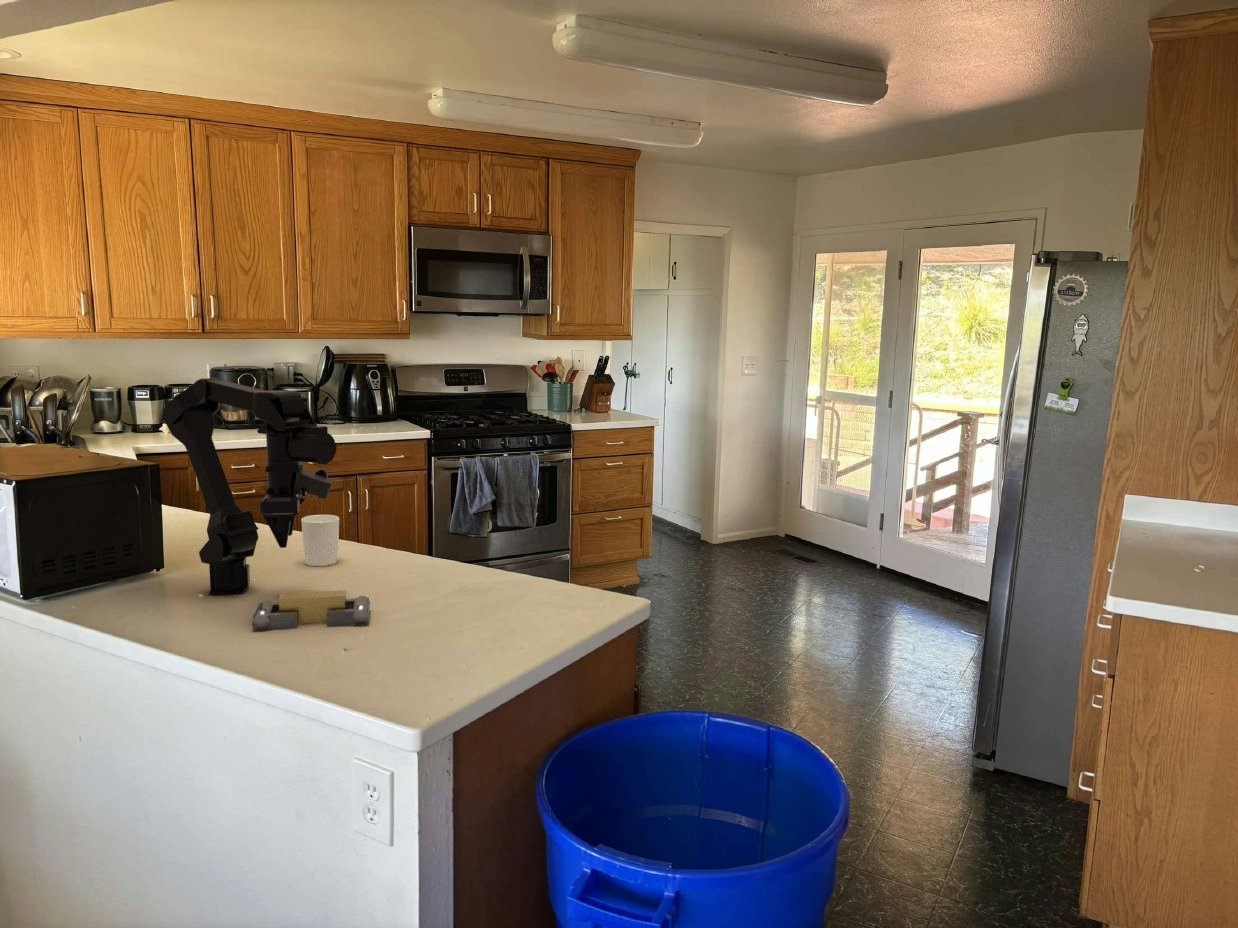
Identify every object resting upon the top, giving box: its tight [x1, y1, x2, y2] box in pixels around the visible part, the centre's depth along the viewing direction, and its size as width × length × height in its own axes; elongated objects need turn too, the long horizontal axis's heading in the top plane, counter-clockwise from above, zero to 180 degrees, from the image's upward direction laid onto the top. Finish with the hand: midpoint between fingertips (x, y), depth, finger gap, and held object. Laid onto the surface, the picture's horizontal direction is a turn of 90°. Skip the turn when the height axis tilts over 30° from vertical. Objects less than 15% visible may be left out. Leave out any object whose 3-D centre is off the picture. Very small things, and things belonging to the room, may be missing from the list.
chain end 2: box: [326, 595, 371, 627], centre depth 157 cm, size 7×8×3 cm
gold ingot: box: [278, 589, 347, 625], centre depth 155 cm, size 11×3×5 cm, turn 103°
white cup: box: [301, 514, 340, 567], centre depth 191 cm, size 8×8×10 cm
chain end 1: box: [251, 599, 298, 632], centre depth 154 cm, size 7×8×3 cm
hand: (286, 541), depth 162 cm, fingers open, 9 cm apart
